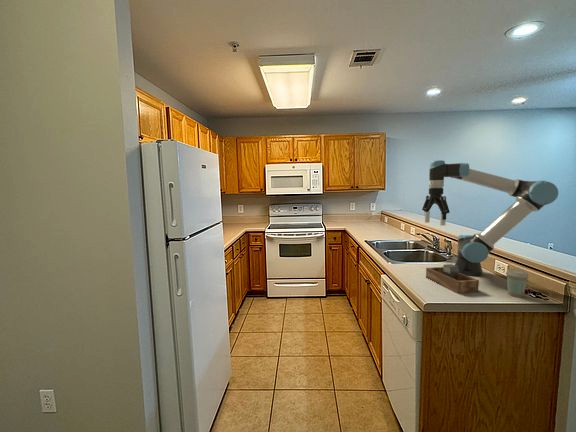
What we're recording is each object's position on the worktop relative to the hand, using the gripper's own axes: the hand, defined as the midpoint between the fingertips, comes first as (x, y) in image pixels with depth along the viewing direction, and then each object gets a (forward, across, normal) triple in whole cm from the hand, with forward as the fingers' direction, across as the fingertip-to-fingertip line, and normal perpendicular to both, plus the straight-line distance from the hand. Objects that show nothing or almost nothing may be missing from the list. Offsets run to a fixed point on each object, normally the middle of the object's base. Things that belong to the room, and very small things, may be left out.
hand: (434, 223), depth 165 cm
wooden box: (+31, +17, -2) cm, 35 cm away
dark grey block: (+30, +17, -2) cm, 35 cm away
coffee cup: (+31, +36, +18) cm, 51 cm away
